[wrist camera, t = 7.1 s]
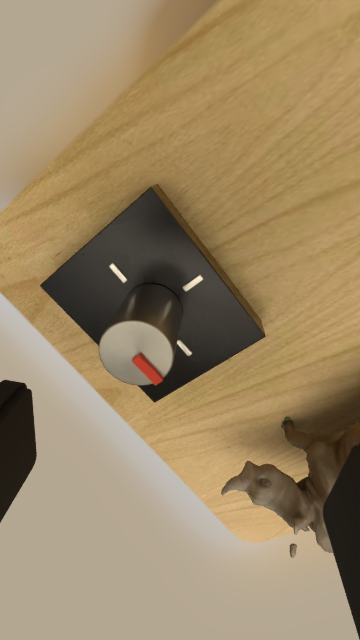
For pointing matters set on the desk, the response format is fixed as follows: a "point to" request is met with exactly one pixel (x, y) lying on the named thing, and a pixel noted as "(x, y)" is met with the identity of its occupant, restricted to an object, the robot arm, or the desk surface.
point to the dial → (142, 336)
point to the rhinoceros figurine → (308, 494)
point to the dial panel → (161, 269)
